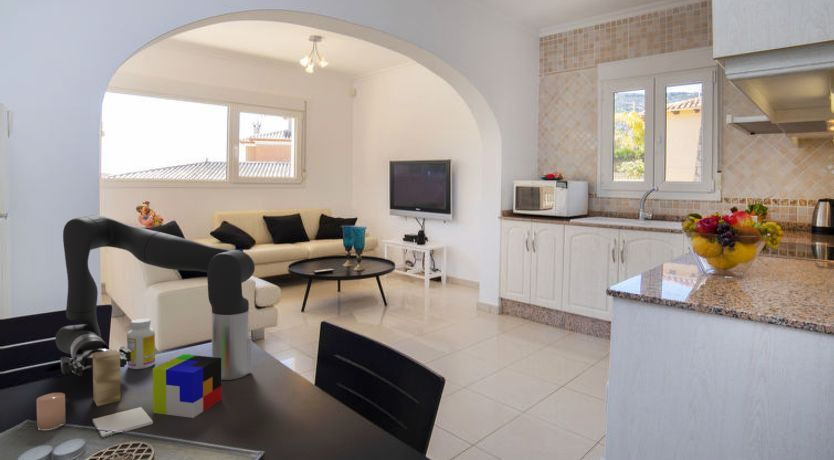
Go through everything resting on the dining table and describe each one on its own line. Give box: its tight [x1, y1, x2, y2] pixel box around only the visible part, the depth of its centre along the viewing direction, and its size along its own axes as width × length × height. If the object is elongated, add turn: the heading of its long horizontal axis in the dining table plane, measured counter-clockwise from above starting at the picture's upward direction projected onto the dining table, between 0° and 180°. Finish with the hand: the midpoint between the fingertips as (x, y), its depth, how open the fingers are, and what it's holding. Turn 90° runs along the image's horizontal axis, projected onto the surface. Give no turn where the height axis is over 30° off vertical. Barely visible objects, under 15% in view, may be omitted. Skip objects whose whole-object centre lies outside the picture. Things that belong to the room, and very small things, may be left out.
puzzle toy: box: [152, 353, 222, 419], centre depth 108 cm, size 10×10×10 cm
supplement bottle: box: [126, 318, 156, 370], centre depth 132 cm, size 7×7×13 cm
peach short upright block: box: [36, 392, 67, 429], centre depth 97 cm, size 5×5×6 cm
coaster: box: [92, 406, 154, 436], centre depth 99 cm, size 9×9×1 cm
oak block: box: [92, 349, 121, 407], centre depth 110 cm, size 4×4×11 cm
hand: (102, 367), depth 113 cm, fingers open, 8 cm apart
